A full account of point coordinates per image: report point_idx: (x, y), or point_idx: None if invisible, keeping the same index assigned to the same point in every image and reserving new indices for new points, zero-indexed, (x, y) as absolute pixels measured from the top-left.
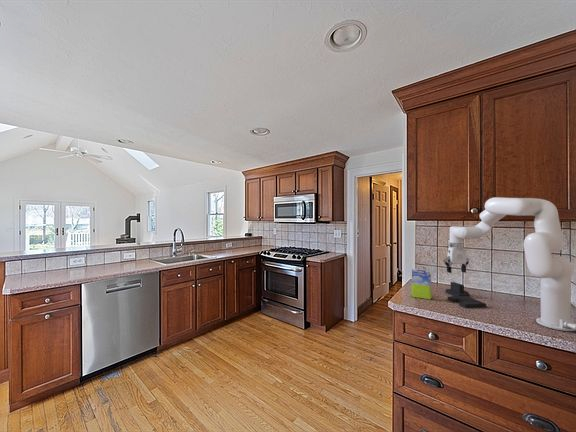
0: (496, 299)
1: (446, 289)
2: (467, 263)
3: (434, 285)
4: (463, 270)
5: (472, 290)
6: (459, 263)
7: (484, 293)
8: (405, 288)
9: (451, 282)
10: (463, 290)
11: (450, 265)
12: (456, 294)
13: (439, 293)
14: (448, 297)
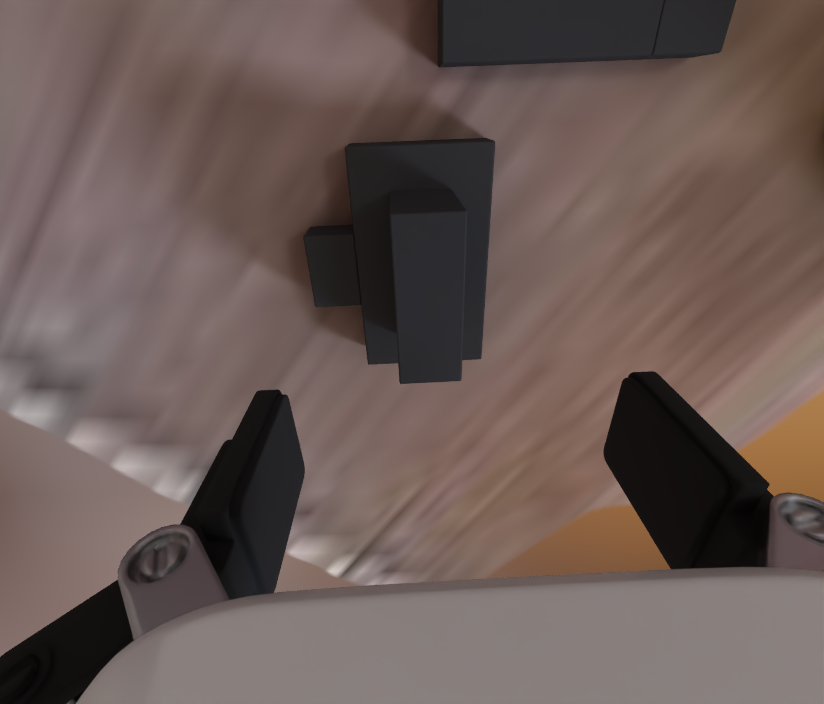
0: (38, 29)
1: (481, 346)
2: (47, 652)
3: (425, 510)
4: (284, 448)
5: (170, 385)
6: (535, 584)
7: (90, 289)
8: None
9: (457, 369)
10: (398, 197)
11: (788, 530)
12: (489, 185)
13: (568, 306)
14: (721, 31)
